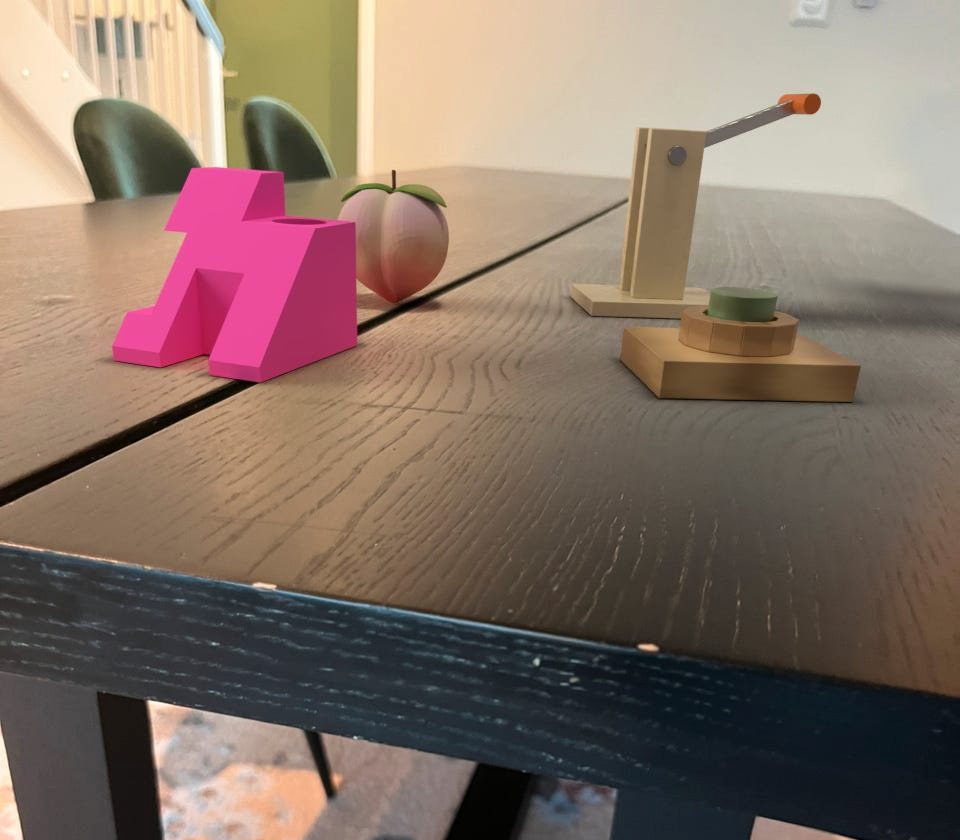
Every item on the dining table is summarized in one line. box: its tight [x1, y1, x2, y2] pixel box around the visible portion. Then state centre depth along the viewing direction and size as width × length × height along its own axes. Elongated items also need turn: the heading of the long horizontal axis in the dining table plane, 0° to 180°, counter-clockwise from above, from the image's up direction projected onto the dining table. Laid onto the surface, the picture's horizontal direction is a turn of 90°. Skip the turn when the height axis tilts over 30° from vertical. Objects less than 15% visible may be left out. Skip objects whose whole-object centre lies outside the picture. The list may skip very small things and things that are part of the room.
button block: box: [619, 305, 862, 403], centre depth 61 cm, size 12×10×4 cm
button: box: [707, 286, 778, 322], centre depth 60 cm, size 4×4×2 cm
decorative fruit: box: [337, 169, 450, 304], centre depth 79 cm, size 9×8×10 cm
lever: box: [645, 92, 822, 149], centre depth 78 cm, size 13×6×2 cm, turn 96°
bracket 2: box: [570, 126, 711, 320], centre depth 81 cm, size 12×9×14 cm
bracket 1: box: [111, 166, 358, 383], centre depth 60 cm, size 12×10×10 cm
